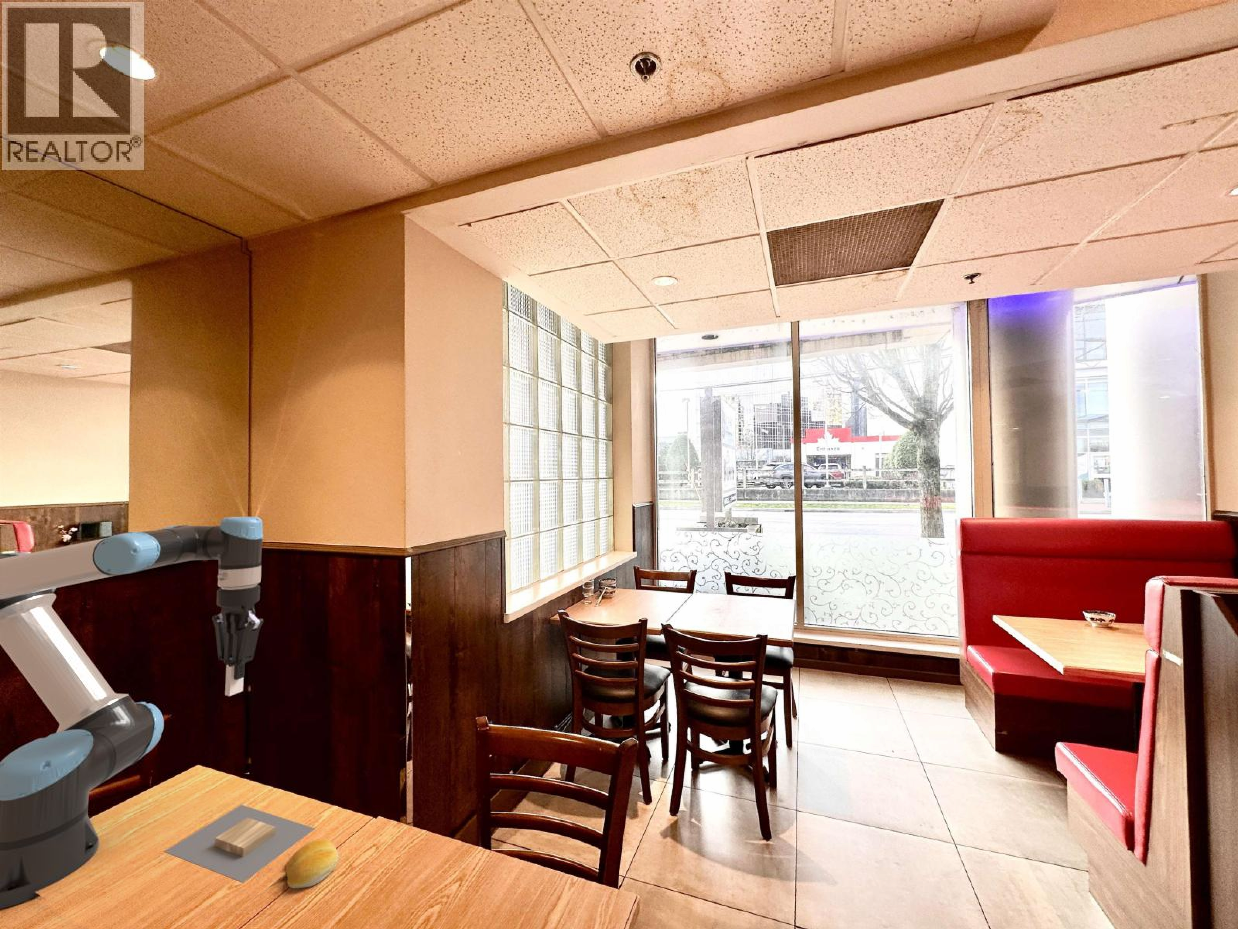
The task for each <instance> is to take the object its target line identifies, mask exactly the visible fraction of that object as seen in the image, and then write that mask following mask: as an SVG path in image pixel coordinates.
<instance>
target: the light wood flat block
mask: <svg viewBox="0 0 1238 929" xmlns="http://www.w3.org/2000/svg"><path fill="white" fill-rule="evenodd" d="M274 835H275V826H272V825H269V824H266V823H263V822H260V821H257V820H254V819H251V818H246V819H244V820H243V821H241V822H240V823H238V824H237V825H235V826H233V827H232V828H230V829H229V830H227V831H225V832H224V833H222V834H221V835H219V836H218V837H216V838H215V847H218V848H221V849H224V850H226V851H229V852H232V853H234V854H237V855H240V856H243V857H244V856H245V855H246V854H248V853H249V852H251V851H252V850H254V849H255V848H256V847H258V846H259V845H261V844H262V843H264V842H265V841H266V840H268V839H269V838H271V837H272V836H274Z"/></svg>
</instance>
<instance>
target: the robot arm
mask: <svg viewBox="0 0 1238 929" xmlns="http://www.w3.org/2000/svg"><path fill="white" fill-rule="evenodd" d="M263 530H264V528H263V520H262V519H261V518H260V517H258V516H231V517H224V518H222V519H220V524H219V525H216V526H215V525H207V526H206V525H188V524H181V525H169V526H165V527H163V528H162V529H156V530H147V531H145V530H144V531H130V532H124V533H119V534H114V535H111V536H108V537H105V538H101V539H95V540H89V541H85V542H80V543H75V544H70V545H64V546H60V547H54V548H49V549H45V550H44V549H43V550H40V551H34V552H29V553H28V552H27V553H26V552H20V553H19V552H17V553H16V552H15V553H13V552H12V553H11V552H9V553H8V552H7V553H0V646H1V647H2V649H3V650H4V651H5V653H7V655H8V657H10V659H11V661H12V662H13V663H14V665H15V666H16V667H17V668H18V670H19V672H20V673H21V674H22V675H23V676H24V678H25V679H26V681H27V682H28V683H29V684H30V686H31V687H32V689H33V690H34V691H35V692H36V694H37V696H38V697H39V698H40V700H41V701H42V703H43V704H44V705H45V706H46V707H47V709H48V710H49V712H50V713H51V714H52V716H53V717H54V718H55V720H56V721H57V722H58V724H59V725H58V728H57V730H56V732H54V733H51V734H49V735H48V736H46V737H40V738H36V739H34V740H33V741H31V742H28V743H26V744H24V745H22V746H20V747H18V748H17V749H15V750H14V751H12V752H10V753H8V755H6V756H5V757H4V758H3V759H2V760H1V761H0V909H5V908H9V907H12V906H16V905H18V904H22V903H25V902H27V901H30V900H33V899H35V898H37V897H38V898H39V897H40V896H41V894H39V893H37V892H38V891H41V890H43V889H45V888H48V887H49V886H51V885H52V886H53V885H54V884H56V883H58V882H60V881H61V880H63V879H65V878H67V877H68V876H70V875H71V874H73V873H75V872H76V871H77V870H79V869H80V868H81V867H83V866H85V864H87V863H88V862H89V861H90V860H91V859H92V858H93V857H94V856H95V855H96V853H97V852H98V850H99V846H100V839H99V836H98V833H97V832H96V829H95V827H94V825H93V823H92V821H91V819H90V816H89V815H88V814H89V812H88V811H89V794H90V792H91V791H92V790H93V789H94V788H96V787H98V786H99V785H101V784H102V783H105V781H107V780H109V779H111V778H112V777H114V776H116V775H117V774H119V773H120V772H122V771H123V770H125V769H126V768H128V767H130V766H132V765H134V764H135V763H137V761H139V760H141V759H142V757H144V756H145V755H146V754H148V753H149V752H150V751H153V749H154V748H155V747H156V746H157V744H158V743H159V741H160V740H161V737H162V733H163V731H164V726H165V724H164V723H165V722H164V720H165V719H164V717H163V714H162V712H161V710H160V709H159V708H158V707H157V705H155V704H153V703H151V702H150V703H147V702H146V701H140V702H135V701H134V700H133V699H132V697H131V695H129V693H117V692H115V691H114V690H113V688H112V687H111V686H110V685H109V683H108V682H107V680H106V679H105V678H104V676H103V675H102V673H101V672H100V671H99V669H98V668H97V667H96V665H95V664H94V662H93V661H92V660H91V659H90V657H89V656H88V655H87V653H86V652H85V651H84V649H83V648H82V646H81V644H79V642H78V641H77V640H76V638H75V637H74V635H73V634H72V633H71V631H70V629H68V628H67V627H68V626H66V625H65V623H64V622H63V621H62V619H61V618H60V616H59V615H58V613H56V611H55V610H54V609H53V607H52V606H53V604H54V602H55V600H56V598H57V595H56V594H55V591H56V589H57V588H62V587H66V586H72V585H76V584H81V583H85V582H90V581H95V580H99V579H100V580H101V579H104V578H109V577H115V576H121V575H127V574H133V573H137V572H138V573H139V572H141V571H145V570H149V569H150V570H151V569H154V568H159V567H164V566H170V565H173V564H174V565H175V564H179V563H183V562H189V561H202V560H203V561H205V560H206V561H208V560H210V561H211V560H213V561H215V560H218V563H217V564H218V574H217V586H218V587H219V588H218V590H216V605H217V606H218V607H220V608H221V609H220V613H219V614H217V615H213V616H212V622H213V625H214V628H215V629H214V630H215V639H216V647H217V648H216V649H217V658H218V660H219V661H223V663H224V664H225V685H224V686H225V690H224V695H225V696H227V697H231V696H233V695H236V694H240V693H241V692H244V678H245V671H246V670H245V668H246V663H247V662H250V661H253V659H254V656H255V652H256V648H257V647H256V646H257V642H258V640H259V639H258V638H259V633H260V629H261V627H262V625H263V624H264V618H258V617H257V616H256V609H255V604H257V603H258V602H259V601H260V598H261V595H260V594H261V586H260V585H259V584H260V583H261V579H262V551H263V550H262V549H263V539H264V533H263V532H264V531H263Z"/></svg>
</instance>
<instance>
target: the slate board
mask: <svg viewBox="0 0 1238 929" xmlns="http://www.w3.org/2000/svg"><path fill="white" fill-rule="evenodd" d="M246 818H251V819H254V820H257V821H260V822H263V823H266V824H269V825H272V826H275V835H274V836H272V837H271V838H269V839H268V840H266V841H265V842H264V843H262V844H261V845H259V846H258V847H256V848H255V849H254V850H252V851H251V852H249V853H248V854H246V855H245V856H244V857H243V856H240V855H237V854H234V853H232V852H229V851H226V850H224V849H221V848H218V847H215V838H216V837H218V836H219V835H221V834H222V833H224V832H225V831H227V830H229V829H230V828H232V827H233V826H235V825H237V824H238V823H240V822H241V821H243V820H244V819H246ZM314 830H316V828H315V827H312V826H309V825H306V824H304V823H300V822H297V821H294V820H289V819H287V818H284V817H281V816H278V815H274V814H272V813H268V812H266V811H262V810H259V809H256V808H253V807H249V806H247V805H244V804H240V805H239V806H237V807H235V808H233V809H232V810H230V811H229V812H226V813H225V814H223V815H221V816H220V817H219V818H217V819H215V820H213V821H212V822H210V823H209V824H207V825H206V826H203V827H202V828H201V829H199V830H196V831H195V832H193V833H192V834H190V835H188V836H187V837H185V838H183V839H182V840H180V841H179V842H177V843H175V844H173V845H172V846H170V847H169V848H167V849H165V850H163V852H164V853H166V854H169V855H171V856H174V857H176V858H179V859H182V860H184V861H187V862H190V863H192V864H194V865H197V866H199V867H202V868H205V869H207V870H210V871H211V872H215V873H217V874H220V875H222V876H225V877H228V878H230V879H232V880H234V881H235V880H236V881H238V882H241V883H246V882H247V880H249V879H250V878H251V877H254V875H256V874H257V873H258V872H259V871H261V870H262V869H264V868H265V867H266V866H267V865H269V864H270V863H272V862H273V861H275V859H277V858H278V857H279V856H281V855H282V854H283V853H285V852H287V851H288V850H289V849H290V848H292V846H294V845H296V844H297V843H298V842H299V841H301V840H302V839H304V838H305V837H306V836H308V835H309V834H310V833H311V832H313V831H314Z"/></svg>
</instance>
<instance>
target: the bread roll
mask: <svg viewBox="0 0 1238 929" xmlns="http://www.w3.org/2000/svg"><path fill="white" fill-rule="evenodd" d="M338 861H339V852H338V850H337V848H336V846H335V845H334V844H333V843H332V842H331V841H330V840H327V839H316V840H313V841H310V842H307V843H306V844H304V845H302V846H301V847H300V848H299V849H298V850H296V851H295V852H294V853H293V854H292V856H291V857H290V858H289V859H288V861H287V864H286V866H285V874H286V877H287V881H286V882H287V885H288V887H289V888H291V889H301V888H302V889H303V888H309V887H313V886H315V885H317V884H319V883H321V882H322V881H323V880H325V879H327V877H328V876H330V875H331V873H332V872H333V871H334V870H335V868H336V866H337V864H338Z"/></svg>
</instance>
